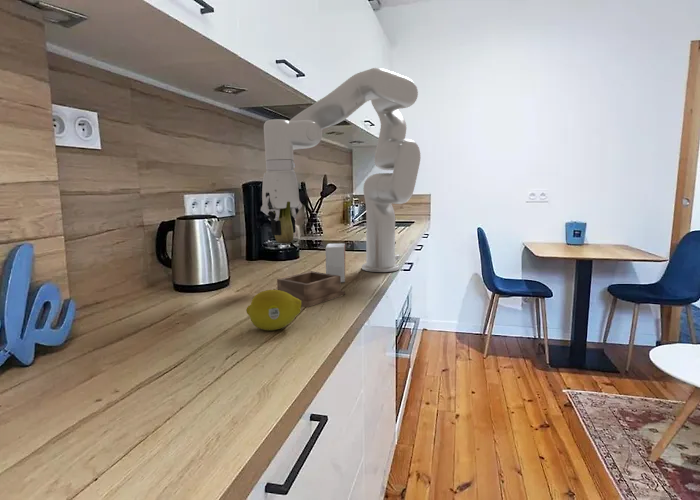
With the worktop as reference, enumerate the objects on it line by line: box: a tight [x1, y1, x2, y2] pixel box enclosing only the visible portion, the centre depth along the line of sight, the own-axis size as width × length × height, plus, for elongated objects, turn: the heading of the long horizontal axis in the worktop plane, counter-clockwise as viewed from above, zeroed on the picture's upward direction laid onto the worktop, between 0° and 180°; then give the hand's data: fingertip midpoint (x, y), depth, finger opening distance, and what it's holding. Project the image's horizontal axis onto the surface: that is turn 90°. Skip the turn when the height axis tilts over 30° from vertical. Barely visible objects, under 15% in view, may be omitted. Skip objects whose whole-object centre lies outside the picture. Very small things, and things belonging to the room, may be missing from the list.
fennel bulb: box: [274, 202, 295, 245], centre depth 118 cm, size 6×5×12 cm
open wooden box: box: [276, 270, 346, 308], centre depth 109 cm, size 14×12×5 cm
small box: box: [325, 243, 346, 283], centre depth 128 cm, size 8×6×10 cm
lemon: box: [246, 289, 302, 331], centre depth 85 cm, size 11×8×8 cm
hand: (283, 233), depth 119 cm, fingers closed on fennel bulb, 4 cm apart
